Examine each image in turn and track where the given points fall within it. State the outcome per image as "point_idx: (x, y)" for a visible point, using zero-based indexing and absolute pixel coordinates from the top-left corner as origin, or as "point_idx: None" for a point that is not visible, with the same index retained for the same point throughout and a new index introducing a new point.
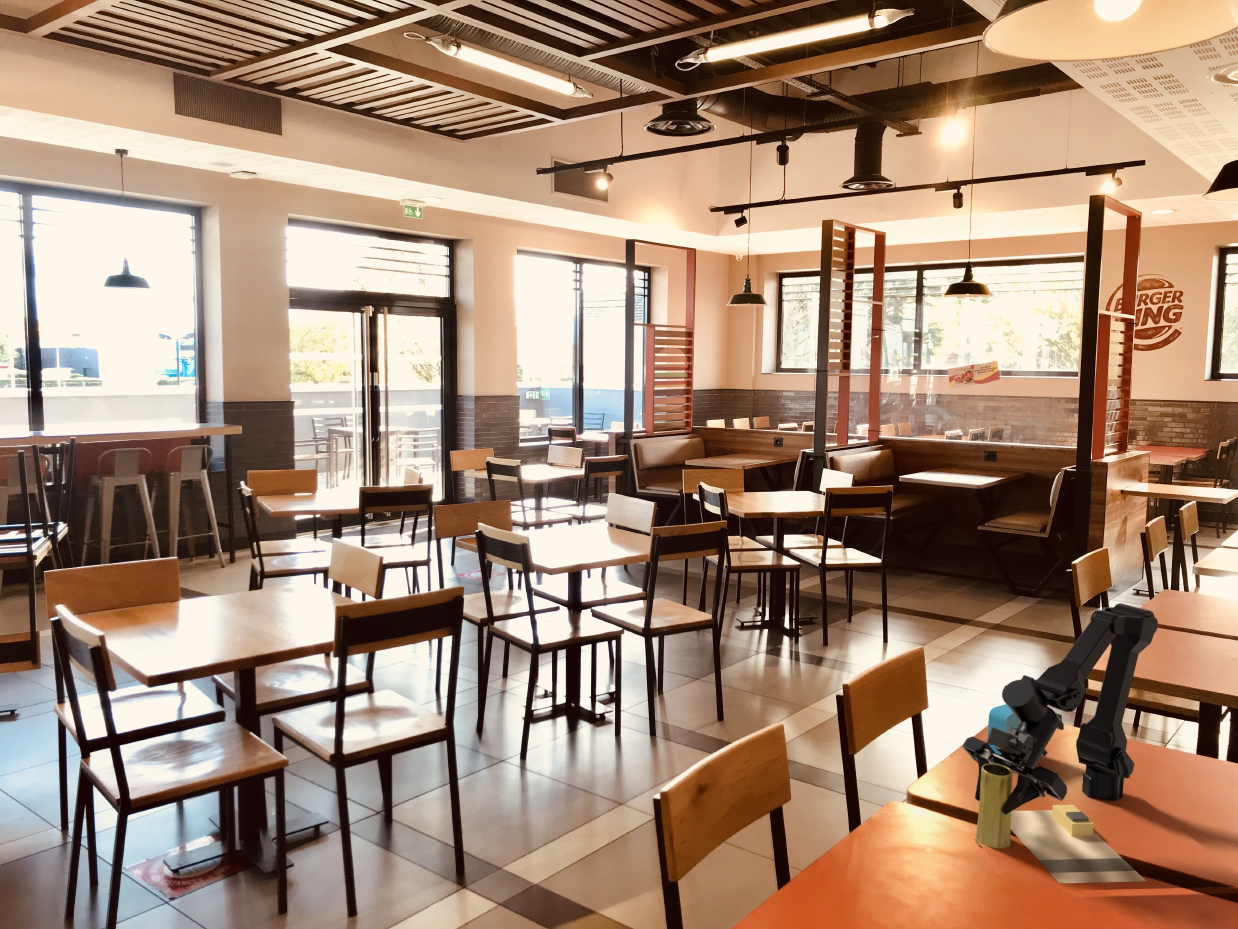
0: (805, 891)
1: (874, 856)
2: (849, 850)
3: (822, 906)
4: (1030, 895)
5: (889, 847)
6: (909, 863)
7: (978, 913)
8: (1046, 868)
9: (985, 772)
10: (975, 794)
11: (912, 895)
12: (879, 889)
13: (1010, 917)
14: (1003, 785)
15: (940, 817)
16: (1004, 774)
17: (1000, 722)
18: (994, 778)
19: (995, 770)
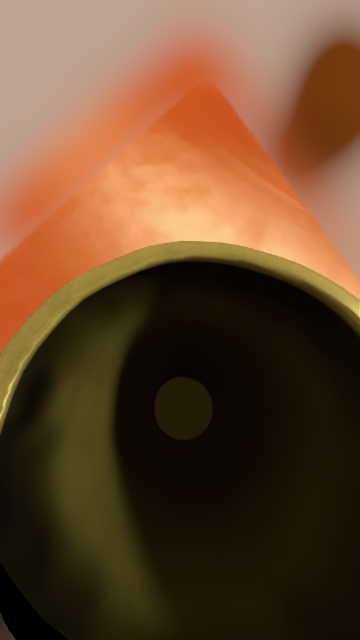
0: (222, 113)
1: (250, 200)
2: (279, 185)
3: (191, 111)
4: (29, 306)
5: (263, 230)
6: (211, 224)
7: (68, 211)
8: None
9: (235, 247)
10: None
11: (150, 179)
12: (183, 161)
13: (29, 236)
14: (86, 366)
15: None
16: (208, 619)
17: None
18: (130, 282)
19: (330, 576)
